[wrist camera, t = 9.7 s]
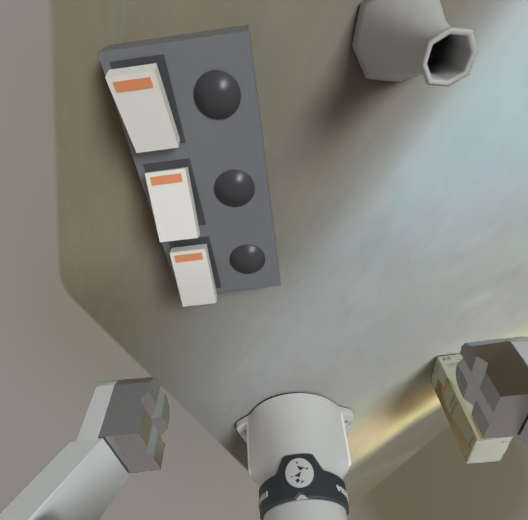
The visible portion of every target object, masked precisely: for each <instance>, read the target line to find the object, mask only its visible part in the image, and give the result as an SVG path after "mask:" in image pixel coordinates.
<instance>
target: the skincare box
mask: <svg viewBox="0 0 528 520" xmlns="http://www.w3.org/2000/svg"><path fill="white" fill-rule="evenodd" d="M462 359H463V357H462V355H461V354H456V355H447V356H439V357H437V359H436V362H435V366H434V370H433V374H432V380H431V382H432V385H433V387H434V389H435V391H436V394H437V396H438V398H439V400H440V403H441V405H442V407H443V410H444V412H445V414H446V417H447V419H448V421H449V423H450V426H451V428H452V430H453V433H454V435H455V437H456V439H457V442H458V444H459V446H460V449H461V451H462V453H463V455H464V457H465V460H466V462H467V463H480V462H491V461H499V460H501V458H502V456H503V454H504V452H505V451H506V450H507V447H508V445H509V443H510V441H511V440H512V438H513V437H501V438H486V439H484V438H483V437H482V435H481V433H480V431H479V429H478V427H477V425H476V423H475V421H474V419H473V417H472V415H471V413H472V410H473V405H472V404H470V403H469V402H468V401H466V400H465V399H463V397H462V394H461V392H460V390H459V387H458V384H457V381H456V367H457V363H458V362H459V361H461V360H462Z"/></svg>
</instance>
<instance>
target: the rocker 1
mask: <svg viewBox="0 0 528 520" xmlns="http://www.w3.org/2000/svg"><path fill="white" fill-rule="evenodd" d="M105 79H106V81H107V83H108V86H109V88H110V91H111V93H112V95H113V98H114V100H115V103H116V105H117V107H118V110H119V112H120V115H121V117H122V119H123V122H124V124H125V127H126V129H127V131H128V134H129V136H130V139H131V141H132V143H133V146H134V148H135V151H136V153H141V152H149V151H156V150H164V149H172V148H179V142H180V138H179V135H178V131H177V128H176V125H175V122H174V118H173V115H172V112H171V109H170V105H169V102H168V99H167V96H166V92H165V89H164V86H163V83H162V79H161V76H160V73H159V70H158V66H157V63H154V64H147V65H139V66H132V67H125V68H118V69H111V70H108V72H107V75H106V77H105Z"/></svg>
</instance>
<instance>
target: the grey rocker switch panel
mask: <svg viewBox="0 0 528 520" xmlns="http://www.w3.org/2000/svg"><path fill="white" fill-rule="evenodd" d="M97 53H98V56H99V59H100V62H101V65H102V68H103V71H104V74H105V77H106V75H107V72H108V70H111V69H118V68H125V67H132V66H139V65H147V64H154V63H157V66H158V70H159V73H160V76H161V79H162V83H163V86H164V89H165V92H166V96H167V99H168V102H169V105H170V109H171V112H172V115H173V118H174V122H175V125H176V128H177V131H178V135H179V138H180V142H179V148H172V149H164V150H156V151H149V152H141V153H136V151H135V148H134V146H133V143H132V141H131V139H130V136H129V134H128V131H127V129H126V127H125V124H124V122H123V119H122V117H121V115H120V112H119V110H118V107H117V105H116V103H115V100H114V98H113V95H112V93H111V95H112V98H113V101H114V104H115V107H116V109H117V112H118V115H119V118H120V121H121V124H122V127H123V130H124V133H125V136H126V139H127V142H128V145H129V148H130V151H131V154H132V157H133V160H134V163H135V165H136V168H137V171H138V174H139V177H140V180H141V183H142V186H143V189H144V192H145V195H146V198H147V201H148V204H149V207H150V210H151V213H152V216H153V219H154V222H155V218H154V213H153V209H152V204H151V200H150V195H149V191H148V186H147V182H146V177H145V173H147V172H151V171H159V170H167V169H174V168H182V167H188V171H189V176H190V181H191V187H192V192H193V198H194V203H195V209H196V214H197V220H198V225H199V230H200V235H199V237H198V238H193V239H184V240H176V241H168V242H162V245H163V248H164V251H165V254H166V257H167V260H168V263H169V266H170V269H171V272H172V275H173V278H174V280H175V283H176V286H177V289H178V285H177V281H176V277H175V273H174V269H173V265H172V261H171V257H170V251H171V249H172V248H175V247H183V246H191V245H199V244H207V248H208V253H209V258H210V263H211V268H212V273H213V278H214V282H215V287H216V292H217V293H218V292H227V291H236V290H244V289H253V288H262V287H271V286H279V285H281V284H280V274H279V265H278V257H277V249H276V241H275V233H274V225H273V217H272V209H271V201H270V193H269V185H268V177H267V169H266V161H265V153H264V145H263V137H262V129H261V121H260V113H259V105H258V97H257V89H256V81H255V73H254V65H253V57H252V49H251V41H250V33H249V25H246V26H239V27H232V28H225V29H218V30H211V31H205V32H198V33H191V34H184V35H177V36H170V37H163V38H156V39H149V40H142V41H135V42H128V43H121V44H115V45H108V46H107V47H105V48H104V49H102V50H100V51H99V52H97ZM109 89H110V88H109ZM110 92H111V91H110ZM155 224H156V223H155ZM178 292H179V289H178ZM179 295H180V293H179Z"/></svg>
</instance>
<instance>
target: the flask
mask: <svg viewBox="0 0 528 520" xmlns="http://www.w3.org/2000/svg"><path fill="white" fill-rule="evenodd" d="M352 47H353V50H354V52H355V54H356V57H357V59H358V62H359V64H360V66H361V69H362V71H363V73H364V76H365V78H366V79H372V80H382V81H393V82H401V81H404V80H406V79H408V78H411V77H413V76H417V75H420V74H423V75H424V78H425V81H426V84H428V85H436V86H447V87H448V86H450V85H452V84H453V83H455V82H457V81H459V80H461V79H462V78H464V77H466V76H468V75H469V73H470V70H471V68H472V65H473V62H474V60H475V57H476V54H477V52H478V51H477V46H476V42H475V38H474V34H473V30H471V29H463V28H454V27H450V26H449V25H448V23H447V22H446V21H445V17H444V14H443V10H442V6H441V3H440V0H364V1H363V2H361V4H360V9H359V14H358V18H357V23H356V28H355V33H354V38H353V43H352Z"/></svg>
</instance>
